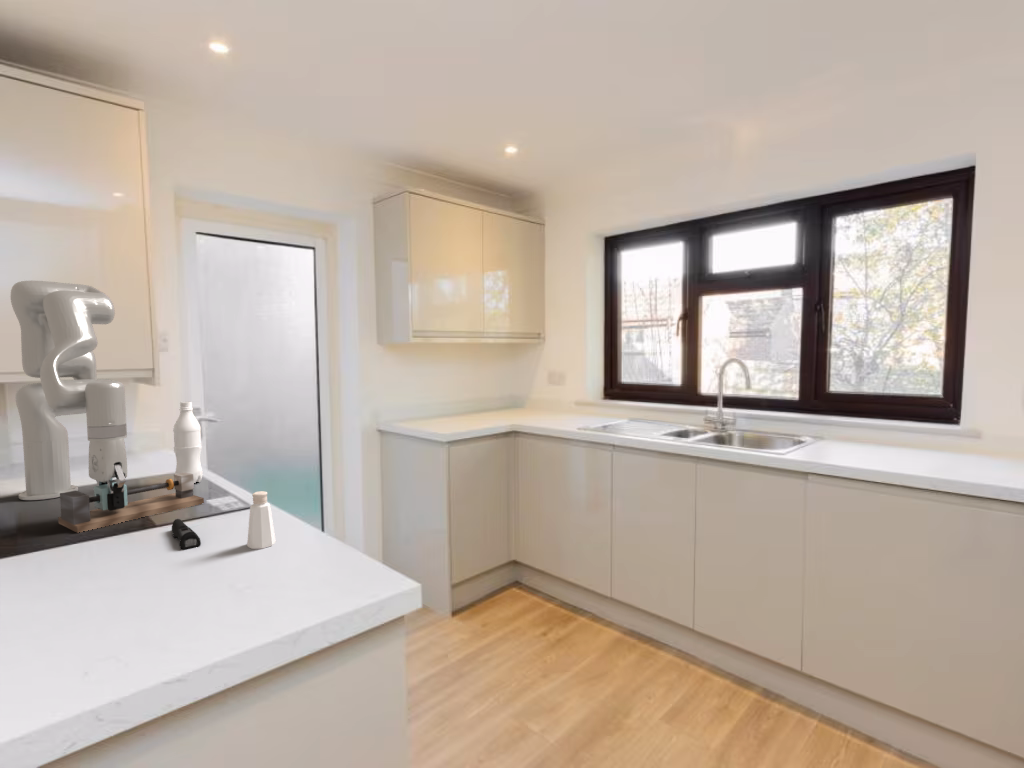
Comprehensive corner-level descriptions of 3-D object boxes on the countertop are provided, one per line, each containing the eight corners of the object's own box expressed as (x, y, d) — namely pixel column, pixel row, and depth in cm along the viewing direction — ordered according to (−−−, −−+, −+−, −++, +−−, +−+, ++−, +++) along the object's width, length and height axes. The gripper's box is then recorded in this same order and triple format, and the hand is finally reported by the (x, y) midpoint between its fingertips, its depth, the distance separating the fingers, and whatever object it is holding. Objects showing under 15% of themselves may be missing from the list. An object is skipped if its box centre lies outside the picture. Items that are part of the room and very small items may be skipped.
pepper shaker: (247, 551, 107) (245, 497, 106) (246, 542, 111) (244, 491, 111) (276, 546, 109) (275, 494, 108) (275, 538, 114) (273, 487, 113)
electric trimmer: (187, 529, 121) (187, 516, 121) (202, 547, 109) (201, 532, 109) (168, 533, 119) (167, 519, 118) (181, 552, 107) (180, 536, 107)
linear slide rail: (77, 533, 118) (76, 499, 117) (58, 523, 124) (56, 492, 124) (203, 503, 140) (202, 475, 139) (181, 496, 147) (180, 470, 146)
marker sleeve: (103, 510, 124) (101, 489, 124) (94, 507, 127) (93, 486, 127) (127, 505, 128) (126, 484, 128) (119, 502, 131) (118, 482, 131)
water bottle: (190, 487, 157) (186, 403, 156) (169, 485, 159) (166, 403, 157) (208, 481, 164) (205, 401, 163) (188, 480, 166) (185, 400, 164)
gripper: (74, 431, 128) (78, 505, 129) (103, 437, 119) (107, 517, 120) (111, 427, 134) (114, 498, 136) (141, 433, 125) (144, 509, 126)
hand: (111, 506), depth 128 cm, fingers closed on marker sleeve, 5 cm apart
